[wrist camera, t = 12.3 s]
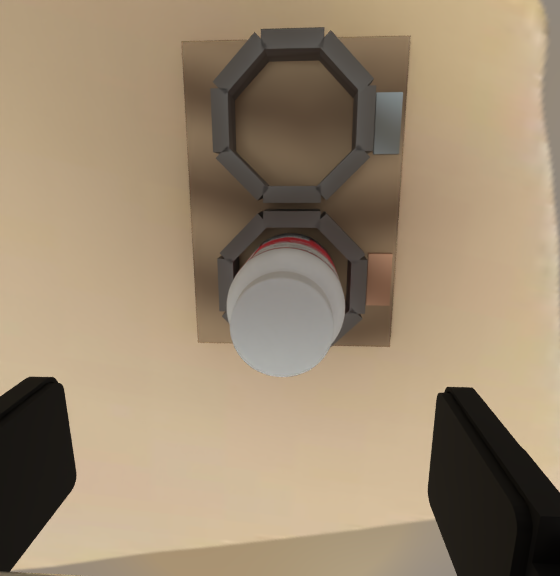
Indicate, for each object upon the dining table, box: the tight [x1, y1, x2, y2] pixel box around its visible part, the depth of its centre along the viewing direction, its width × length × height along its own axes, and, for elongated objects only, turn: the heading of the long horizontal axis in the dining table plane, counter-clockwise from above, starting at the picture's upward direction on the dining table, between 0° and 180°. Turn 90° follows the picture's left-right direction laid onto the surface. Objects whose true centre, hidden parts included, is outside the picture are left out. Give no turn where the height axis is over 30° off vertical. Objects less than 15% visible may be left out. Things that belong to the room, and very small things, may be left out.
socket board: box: [182, 27, 410, 347], centre depth 27 cm, size 20×14×4 cm
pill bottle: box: [227, 233, 345, 377], centre depth 24 cm, size 6×6×11 cm
